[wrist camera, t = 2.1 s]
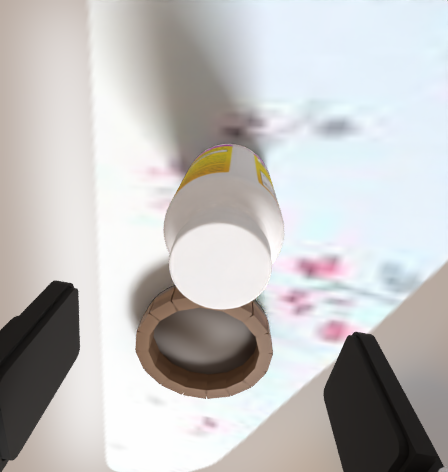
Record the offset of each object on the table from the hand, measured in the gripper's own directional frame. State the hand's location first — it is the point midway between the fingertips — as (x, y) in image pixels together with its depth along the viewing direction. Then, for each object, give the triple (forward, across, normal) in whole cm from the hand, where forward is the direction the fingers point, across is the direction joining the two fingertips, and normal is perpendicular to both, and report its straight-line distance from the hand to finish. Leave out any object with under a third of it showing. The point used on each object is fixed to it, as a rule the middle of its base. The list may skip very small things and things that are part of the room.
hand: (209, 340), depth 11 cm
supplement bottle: (+17, 0, -1) cm, 17 cm away
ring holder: (+17, 0, +15) cm, 23 cm away
